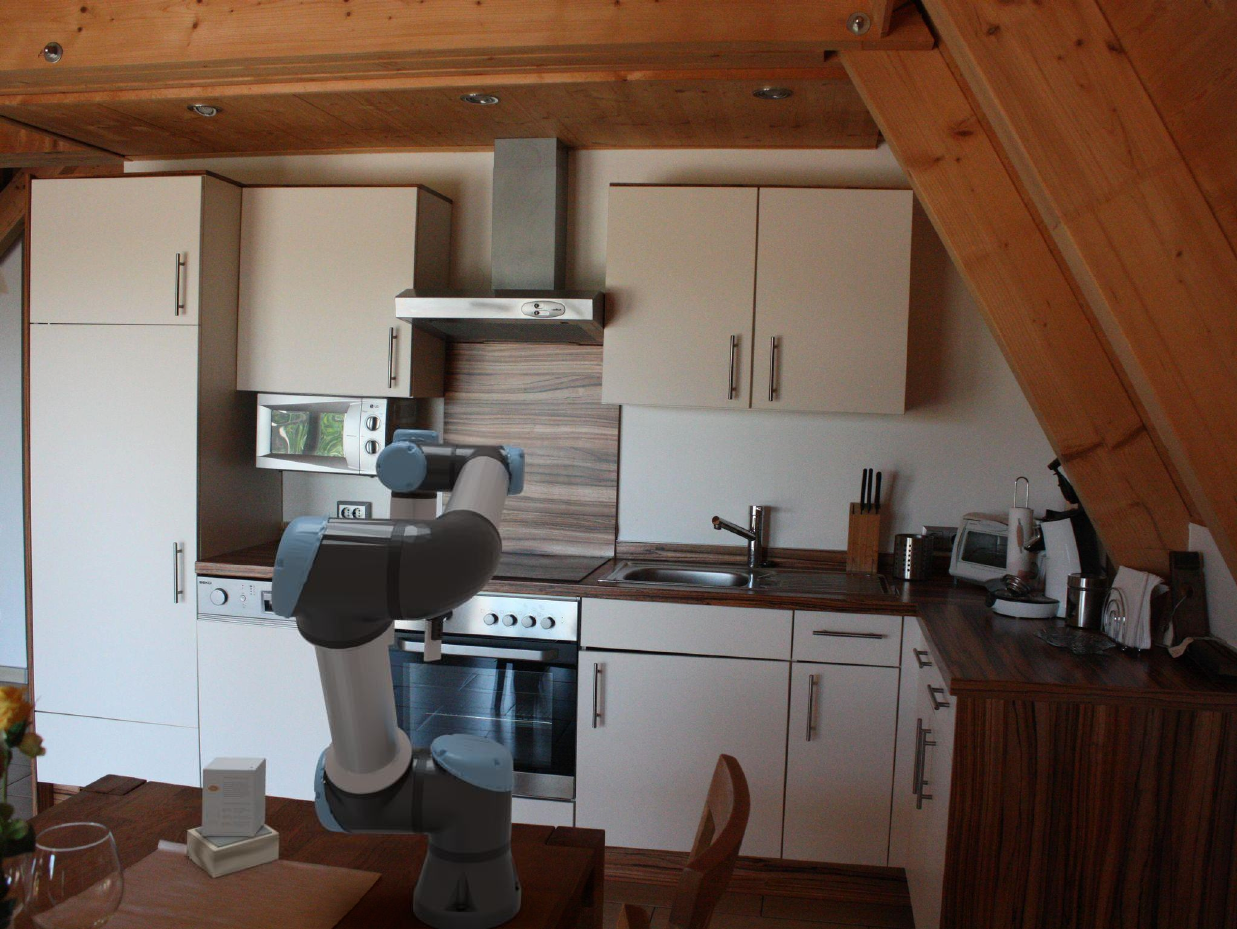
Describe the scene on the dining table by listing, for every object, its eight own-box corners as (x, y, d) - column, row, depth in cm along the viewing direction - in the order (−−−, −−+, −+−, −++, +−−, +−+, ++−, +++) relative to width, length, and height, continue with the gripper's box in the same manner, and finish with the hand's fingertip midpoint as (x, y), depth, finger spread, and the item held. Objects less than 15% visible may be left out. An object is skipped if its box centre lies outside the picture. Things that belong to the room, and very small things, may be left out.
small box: (265, 823, 152) (267, 757, 152) (253, 837, 147) (256, 769, 147) (213, 822, 152) (215, 755, 152) (200, 836, 146) (202, 768, 146)
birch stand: (278, 859, 149) (279, 831, 149) (213, 877, 142) (214, 849, 142) (249, 838, 156) (250, 812, 156) (186, 855, 149) (187, 828, 149)
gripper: (478, 529, 152) (472, 663, 153) (391, 516, 170) (386, 636, 170) (438, 531, 147) (433, 670, 147) (353, 517, 164) (348, 641, 165)
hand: (408, 652), depth 159 cm, fingers open, 13 cm apart
